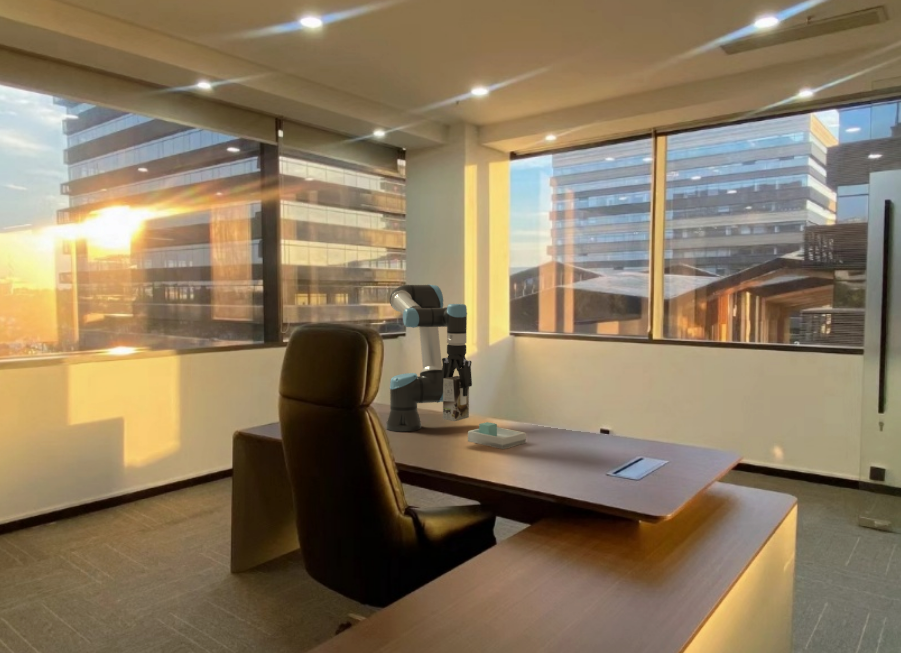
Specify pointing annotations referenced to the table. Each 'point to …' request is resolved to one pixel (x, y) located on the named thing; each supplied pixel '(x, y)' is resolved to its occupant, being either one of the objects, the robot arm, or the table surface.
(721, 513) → the table surface
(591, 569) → the table surface
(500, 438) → the tote
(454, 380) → the coffee box
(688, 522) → the table surface
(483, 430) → the teal cube
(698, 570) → the table surface
